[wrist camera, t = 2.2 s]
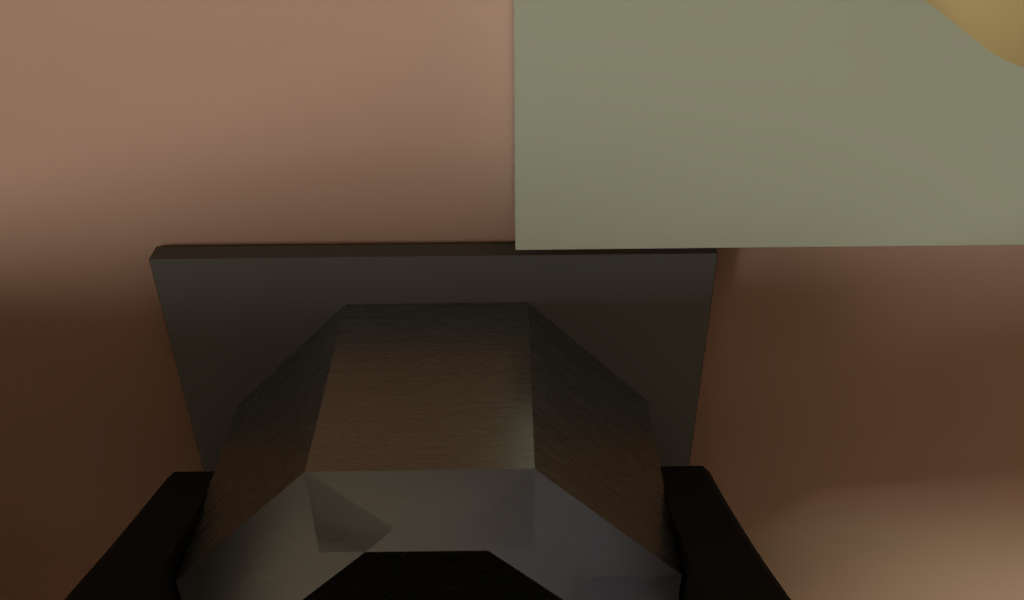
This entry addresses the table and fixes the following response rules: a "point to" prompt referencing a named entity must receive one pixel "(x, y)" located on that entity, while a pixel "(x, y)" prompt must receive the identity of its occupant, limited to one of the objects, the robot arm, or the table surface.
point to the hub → (768, 123)
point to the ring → (436, 469)
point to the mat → (434, 279)
